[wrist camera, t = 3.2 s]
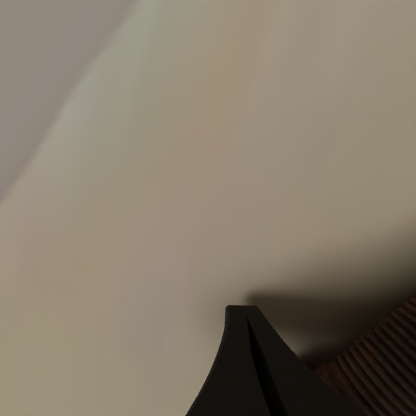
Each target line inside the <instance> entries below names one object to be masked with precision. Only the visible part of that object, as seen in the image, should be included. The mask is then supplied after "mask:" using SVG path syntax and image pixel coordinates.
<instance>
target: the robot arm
mask: <svg viewBox="0 0 416 416" xmlns="http://www.w3.org/2000/svg"><path fill="white" fill-rule="evenodd" d="M185 416H368V415H367V414H365V413H364V412H362V411H361V410H360V409H358V408H357V407H355V406H354V405H353V404H351V403H350V402H349V401H347V400H346V399H345V398H343V397H342V396H341V395H339V394H338V393H337V392H336V391H334V390H333V389H332V388H331V387H330V386H328V385H327V384H326V383H325V382H324V381H322V380H321V379H320V378H319V377H318V376H317V375H316V374H315V373H314V372H312V371H311V370H310V369H309V368H308V367H307V366H306V365H305V364H304V363H303V362H302V361H301V360H300V359H299V358H298V357H297V356H296V354H295V353H294V352H293V351H292V350H291V349H290V348H289V347H288V346H287V344H286V343H285V342H284V341H283V340H282V338H281V337H280V336H279V335H278V334H277V332H276V331H275V330H274V329H273V327H272V326H271V325H270V323H269V322H268V321H267V319H266V318H265V317H264V315H263V314H262V312H261V311H260V309H259V308H258V307H257V306H241V305H228V306H227V307H226V312H225V327H224V333H223V337H222V340H221V344H220V347H219V350H218V353H217V355H216V358H215V361H214V363H213V365H212V368H211V370H210V372H209V375H208V377H207V379H206V381H205V383H204V385H203V387H202V389H201V390H200V392H199V394H198V396H197V397H196V399H195V401H194V402H193V404H192V406H191V407H190V409H189V411H188V412H187V414H186V415H185Z"/></svg>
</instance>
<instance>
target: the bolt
mask: <svg viewBox="0 0 416 416" xmlns="http://www.w3.org/2000/svg"><path fill="white" fill-rule="evenodd" d="M410 302H411V304H409V303H405V302H404V307H405V309H402V308H397V309H398V313H399V314H396V313H391V314H392V318H393V319H391V318H387V317H386V318H385V321H386V324H384V323H381V322H379V326H380V329H379V328H376V327H373V332H374V333H371V332H366V333H367V336H368V338H365V337H362V336H361V337H360V338H361V341H362V343H361V342H358V341H355V345H356V347H353V346H349V350H350V352H349V351H346V350H344V351H343V355H344V356H342V355H337V359H338V360H337V359H333V360H331V361H330V362H329V363H324V364H322V365H321V366H320V367H318V368H317V369H316V370H315V371H313V372H314V373H315V374H316V375H317V376H318V377H319V378H320V379H321V380H322V381H324V382H325V383H326V384H327V385H328V386H330V387H331V388H332V389H333V390H334V391H336V392H337V393H338V394H339V395H341V396H342V397H343V398H345V399H346V400H347V401H349V402H350V403H351V404H353V405H354V406H355V407H357V408H358V409H360V410H361V411H362V412H364V413H365V414H367V415H368V416H416V299H415V298H410Z"/></svg>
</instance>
